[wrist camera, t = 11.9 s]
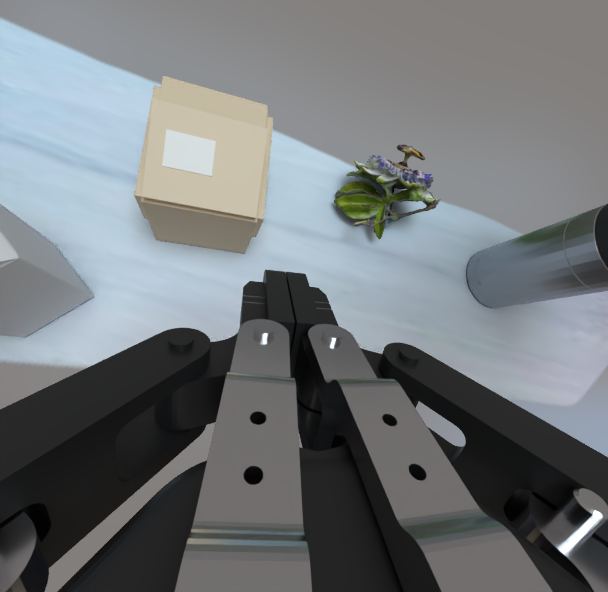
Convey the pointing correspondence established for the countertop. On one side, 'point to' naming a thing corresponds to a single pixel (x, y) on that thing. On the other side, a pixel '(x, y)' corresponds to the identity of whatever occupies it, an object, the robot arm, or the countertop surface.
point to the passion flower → (385, 175)
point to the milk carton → (33, 279)
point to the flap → (203, 160)
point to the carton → (192, 221)
